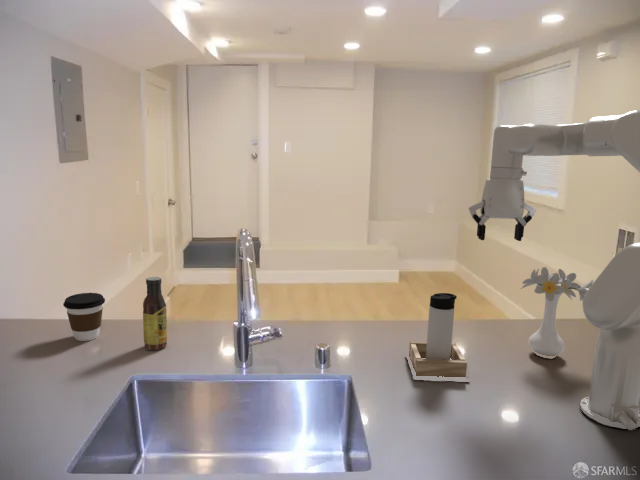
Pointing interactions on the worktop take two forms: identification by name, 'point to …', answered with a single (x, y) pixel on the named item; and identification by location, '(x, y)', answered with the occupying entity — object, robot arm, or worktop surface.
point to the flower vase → (552, 307)
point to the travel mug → (440, 326)
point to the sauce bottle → (154, 316)
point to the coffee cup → (85, 315)
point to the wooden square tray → (437, 362)
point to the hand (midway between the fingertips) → (499, 239)
